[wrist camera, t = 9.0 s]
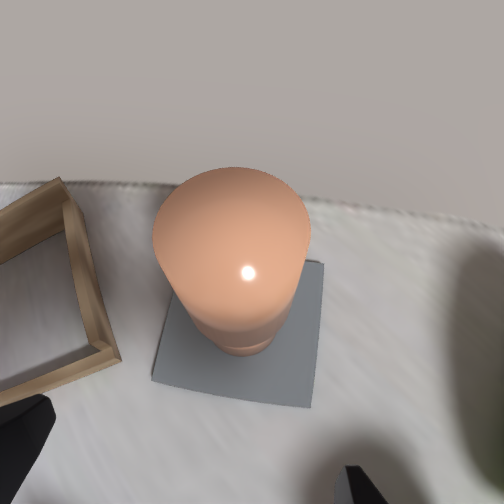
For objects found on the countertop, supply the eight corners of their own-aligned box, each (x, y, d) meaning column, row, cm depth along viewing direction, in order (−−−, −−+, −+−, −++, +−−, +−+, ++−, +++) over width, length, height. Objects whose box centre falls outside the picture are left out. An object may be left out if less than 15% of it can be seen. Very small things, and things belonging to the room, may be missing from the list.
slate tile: (309, 408, 18) (310, 407, 18) (153, 381, 19) (151, 380, 18) (323, 266, 23) (324, 263, 22) (187, 248, 24) (186, 245, 23)
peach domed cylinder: (237, 380, 18) (217, 336, 9) (184, 317, 21) (126, 220, 11) (301, 325, 20) (342, 231, 11) (246, 269, 22) (240, 148, 13)
